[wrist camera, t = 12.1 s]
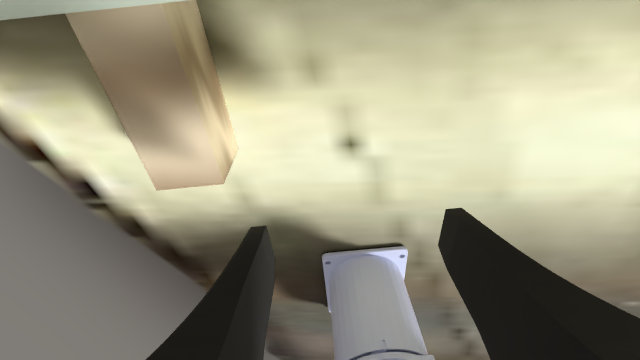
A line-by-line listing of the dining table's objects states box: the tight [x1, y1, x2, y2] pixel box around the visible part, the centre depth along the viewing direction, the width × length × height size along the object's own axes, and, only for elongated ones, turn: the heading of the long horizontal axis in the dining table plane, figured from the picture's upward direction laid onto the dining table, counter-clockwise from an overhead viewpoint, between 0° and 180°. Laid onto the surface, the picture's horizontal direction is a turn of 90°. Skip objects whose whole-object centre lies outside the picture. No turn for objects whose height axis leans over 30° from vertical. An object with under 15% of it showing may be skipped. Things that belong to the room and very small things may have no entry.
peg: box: [65, 0, 238, 190], centre depth 15 cm, size 12×4×5 cm, turn 5°
